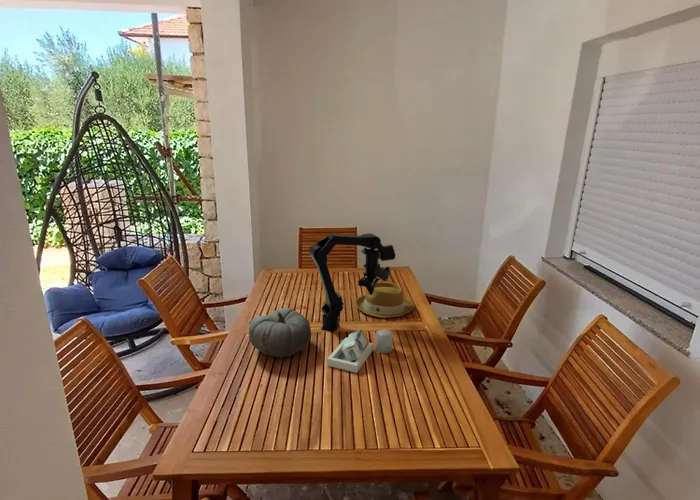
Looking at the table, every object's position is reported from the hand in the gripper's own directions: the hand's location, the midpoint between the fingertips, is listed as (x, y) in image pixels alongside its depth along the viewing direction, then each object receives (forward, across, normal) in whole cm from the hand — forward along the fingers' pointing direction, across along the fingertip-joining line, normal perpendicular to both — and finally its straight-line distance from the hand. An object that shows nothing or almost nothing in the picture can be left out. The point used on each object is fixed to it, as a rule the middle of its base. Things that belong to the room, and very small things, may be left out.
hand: (371, 294), depth 187 cm
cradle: (+13, -32, -4) cm, 35 cm away
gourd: (+13, -38, +25) cm, 47 cm away
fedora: (+14, +16, -1) cm, 21 cm away
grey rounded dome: (+13, -22, -14) cm, 29 cm away
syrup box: (+9, -24, -3) cm, 26 cm away
